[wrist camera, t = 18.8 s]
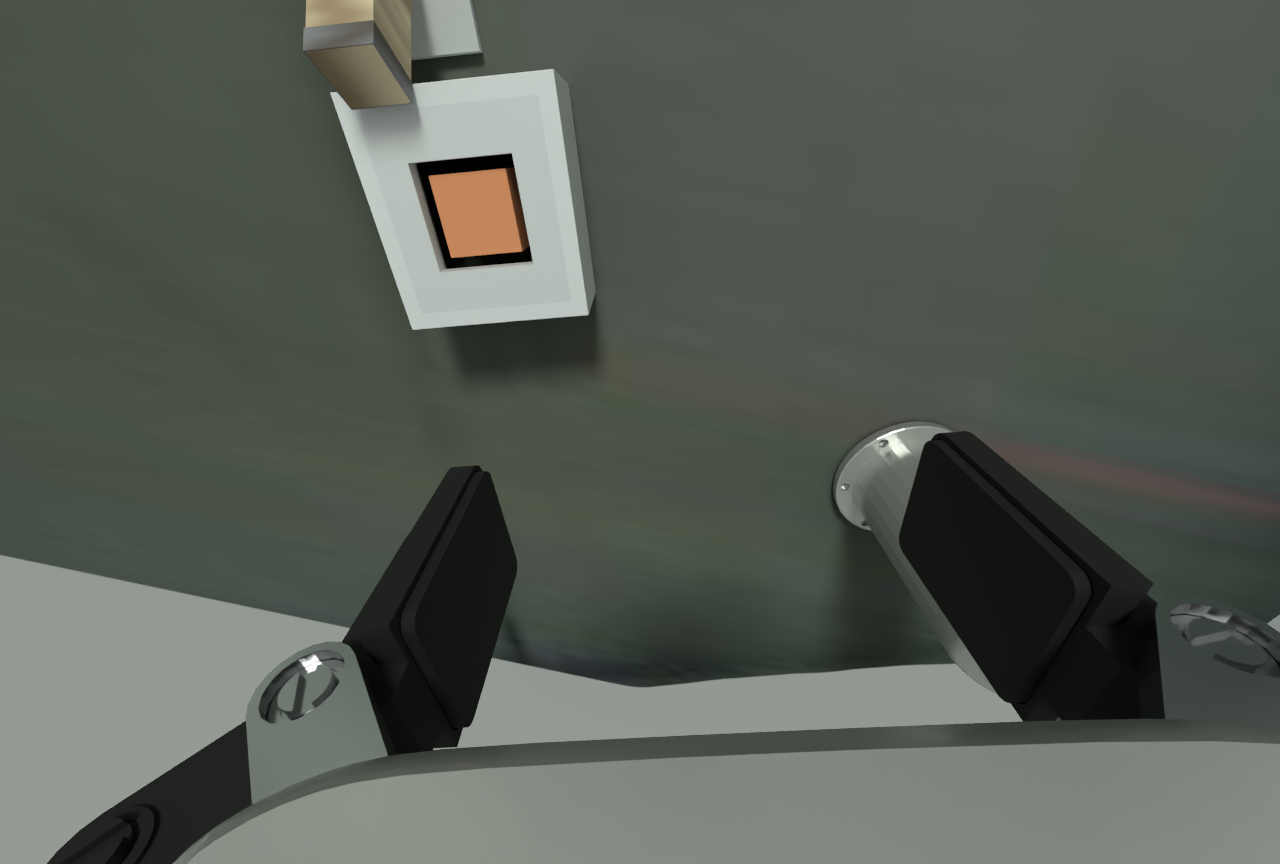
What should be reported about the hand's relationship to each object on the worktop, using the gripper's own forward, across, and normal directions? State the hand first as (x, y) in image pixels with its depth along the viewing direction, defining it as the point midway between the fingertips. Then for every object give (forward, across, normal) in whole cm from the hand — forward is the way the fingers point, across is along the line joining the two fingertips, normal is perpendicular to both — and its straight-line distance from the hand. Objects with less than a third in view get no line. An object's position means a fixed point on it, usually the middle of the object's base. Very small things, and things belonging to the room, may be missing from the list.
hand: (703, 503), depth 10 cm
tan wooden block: (+26, +14, -19) cm, 35 cm away
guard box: (+28, +11, -4) cm, 31 cm away
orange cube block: (+28, +11, -5) cm, 30 cm away
